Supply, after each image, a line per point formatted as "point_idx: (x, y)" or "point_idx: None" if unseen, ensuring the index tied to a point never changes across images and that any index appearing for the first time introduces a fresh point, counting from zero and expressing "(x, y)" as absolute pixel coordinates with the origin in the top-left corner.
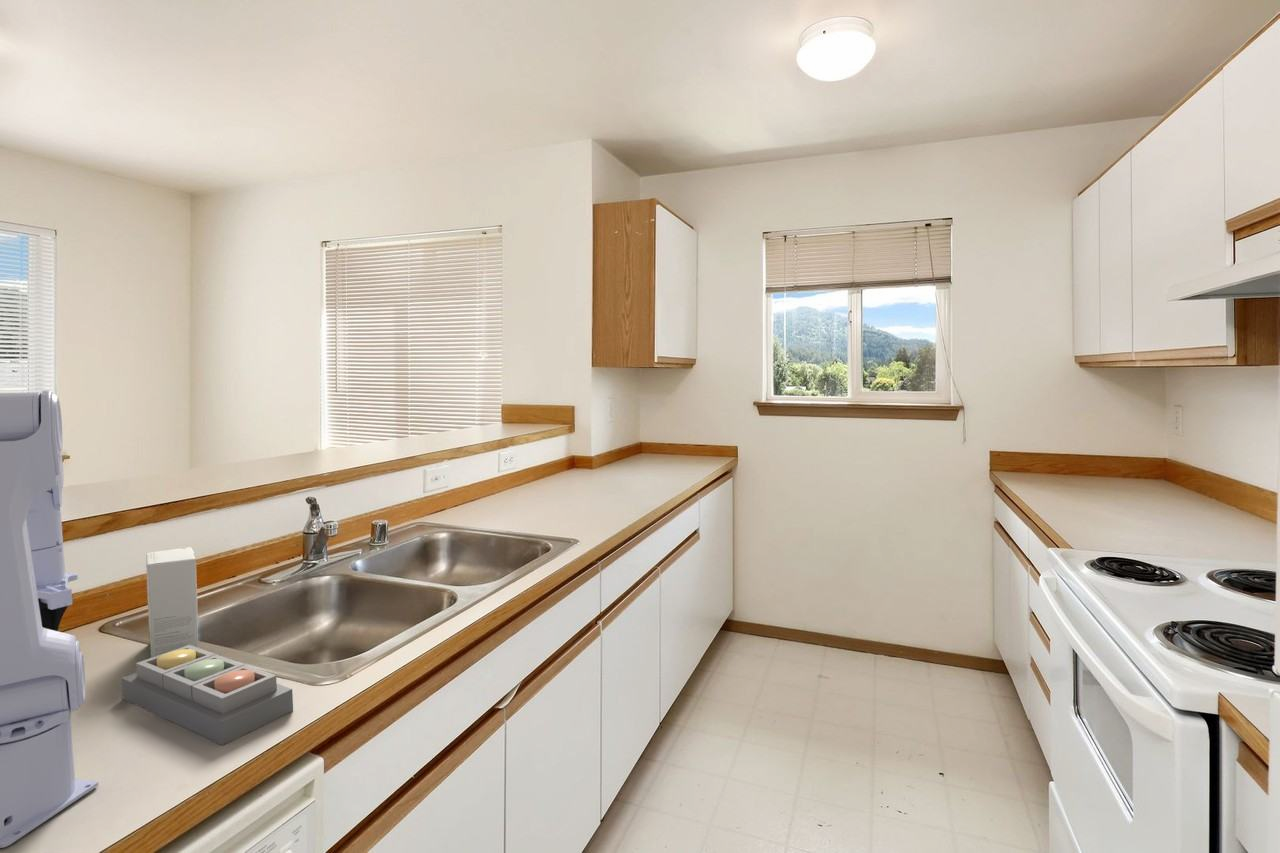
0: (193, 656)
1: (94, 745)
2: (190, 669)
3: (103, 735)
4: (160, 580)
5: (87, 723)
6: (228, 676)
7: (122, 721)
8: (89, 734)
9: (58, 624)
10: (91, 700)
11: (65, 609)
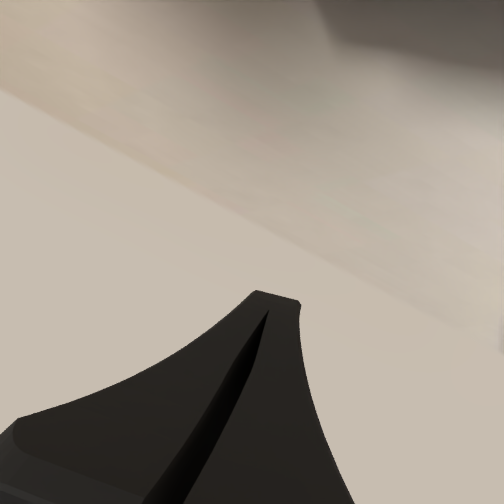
0: None
1: (499, 191)
2: None
3: (473, 151)
4: None
5: (356, 122)
6: None
7: (454, 77)
8: (425, 159)
9: (310, 397)
10: (220, 29)
11: (348, 492)
